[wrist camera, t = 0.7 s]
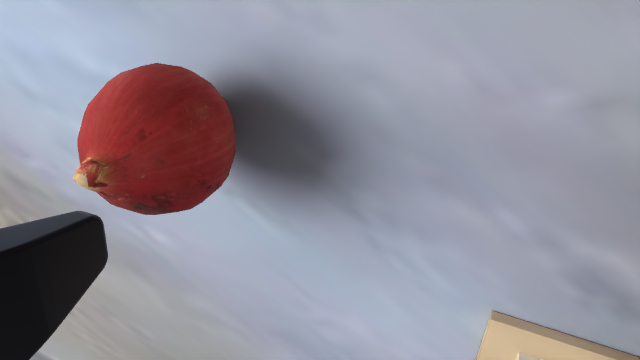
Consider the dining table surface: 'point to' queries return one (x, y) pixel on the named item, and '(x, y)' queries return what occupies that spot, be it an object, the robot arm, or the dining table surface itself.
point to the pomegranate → (156, 140)
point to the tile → (526, 357)
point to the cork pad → (538, 343)
